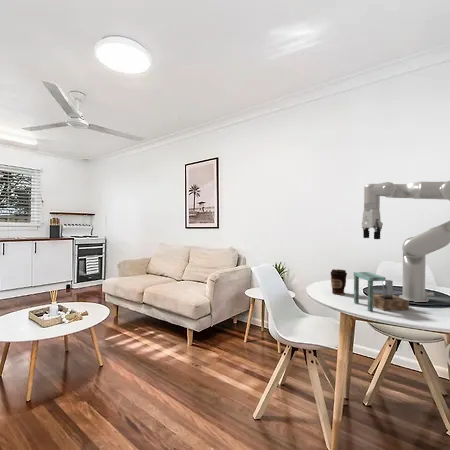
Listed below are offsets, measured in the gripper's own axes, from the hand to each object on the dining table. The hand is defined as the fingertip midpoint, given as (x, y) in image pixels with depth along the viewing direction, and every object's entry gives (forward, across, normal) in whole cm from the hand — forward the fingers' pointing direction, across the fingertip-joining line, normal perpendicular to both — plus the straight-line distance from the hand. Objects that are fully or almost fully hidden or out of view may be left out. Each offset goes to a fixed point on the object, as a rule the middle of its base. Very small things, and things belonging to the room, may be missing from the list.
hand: (371, 238), depth 155 cm
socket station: (+30, +21, -9) cm, 38 cm away
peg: (+30, +21, -5) cm, 37 cm away
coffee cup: (+31, -3, -17) cm, 35 cm away
